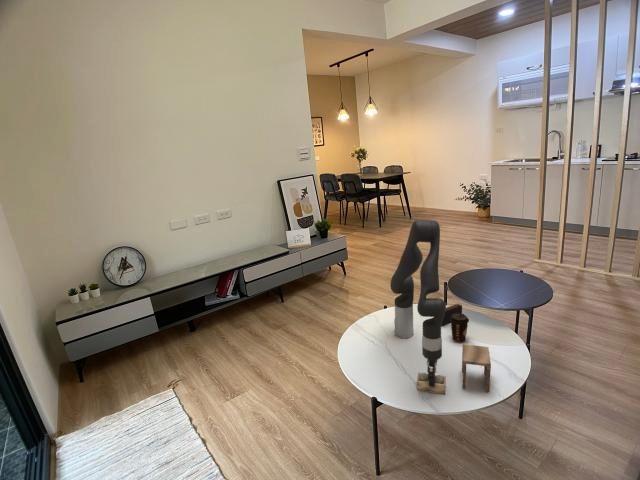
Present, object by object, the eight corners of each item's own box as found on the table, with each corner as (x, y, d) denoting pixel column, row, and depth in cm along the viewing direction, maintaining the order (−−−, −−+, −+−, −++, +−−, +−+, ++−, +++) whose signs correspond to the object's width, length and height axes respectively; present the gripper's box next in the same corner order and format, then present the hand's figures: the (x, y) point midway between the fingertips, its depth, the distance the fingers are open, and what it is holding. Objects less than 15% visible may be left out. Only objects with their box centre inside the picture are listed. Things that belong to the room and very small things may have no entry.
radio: (457, 316, 200) (458, 292, 195) (461, 319, 197) (462, 294, 193) (432, 326, 192) (432, 301, 188) (436, 328, 190) (436, 303, 185)
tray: (417, 389, 146) (416, 378, 145) (418, 380, 152) (418, 369, 150) (445, 394, 142) (445, 382, 141) (445, 384, 148) (445, 373, 146)
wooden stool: (462, 388, 145) (463, 360, 141) (462, 370, 155) (462, 344, 152) (489, 392, 141) (490, 364, 137) (487, 373, 152) (488, 347, 148)
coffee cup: (465, 334, 182) (466, 312, 178) (470, 344, 174) (471, 320, 170) (448, 335, 183) (448, 312, 179) (452, 344, 175) (452, 320, 171)
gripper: (423, 334, 149) (424, 367, 153) (420, 353, 136) (421, 389, 141) (442, 336, 147) (442, 370, 151) (441, 356, 134) (441, 392, 138)
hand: (432, 379), depth 146 cm, fingers open, 8 cm apart
